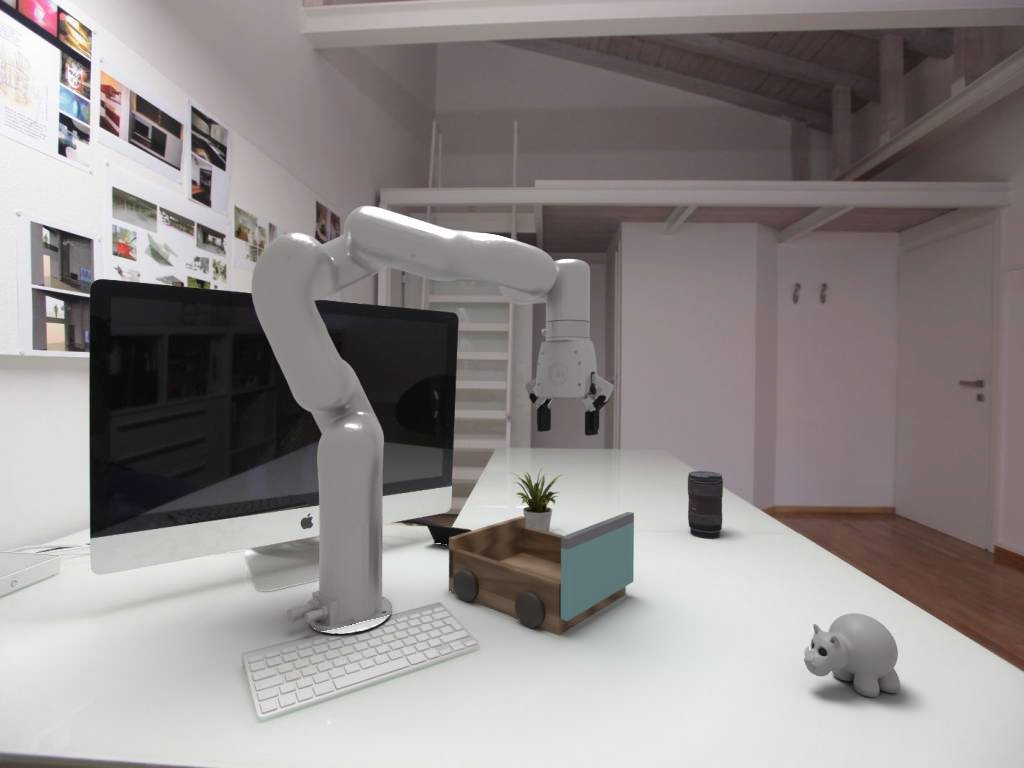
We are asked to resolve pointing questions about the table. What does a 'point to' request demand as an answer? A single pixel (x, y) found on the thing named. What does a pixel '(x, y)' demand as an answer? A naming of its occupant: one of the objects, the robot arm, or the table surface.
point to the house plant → (537, 503)
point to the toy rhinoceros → (856, 654)
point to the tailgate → (596, 563)
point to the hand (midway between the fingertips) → (566, 432)
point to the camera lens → (705, 503)
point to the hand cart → (514, 573)
